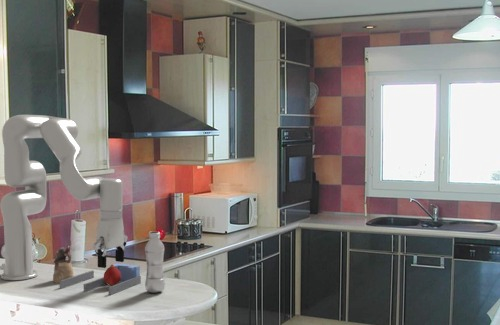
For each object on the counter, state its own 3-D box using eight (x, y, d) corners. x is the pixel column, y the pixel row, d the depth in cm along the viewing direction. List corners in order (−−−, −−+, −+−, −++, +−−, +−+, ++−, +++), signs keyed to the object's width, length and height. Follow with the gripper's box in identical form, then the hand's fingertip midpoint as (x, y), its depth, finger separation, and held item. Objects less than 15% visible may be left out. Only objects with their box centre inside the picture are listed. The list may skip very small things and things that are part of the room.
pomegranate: (100, 287, 209) (100, 264, 208) (115, 283, 213) (114, 261, 212) (110, 290, 205) (109, 267, 204) (124, 286, 209) (124, 264, 208)
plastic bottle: (141, 293, 200) (140, 233, 199) (152, 288, 206) (151, 230, 205) (158, 295, 198) (157, 234, 197) (168, 290, 204) (168, 231, 203)
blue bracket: (109, 282, 215) (109, 265, 215) (115, 280, 218) (115, 263, 218) (134, 285, 211) (133, 268, 211) (139, 282, 214) (139, 266, 214)
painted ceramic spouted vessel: (60, 277, 223) (59, 245, 222) (77, 278, 221) (76, 246, 220) (49, 282, 216) (48, 248, 215) (66, 283, 214) (65, 249, 213)
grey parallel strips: (59, 288, 207) (59, 281, 207) (92, 277, 223) (91, 270, 223) (110, 295, 199) (110, 287, 198) (140, 282, 214) (140, 275, 214)
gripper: (117, 210, 217) (117, 258, 218) (85, 217, 201) (85, 268, 202) (135, 212, 213) (134, 260, 215) (104, 219, 198) (103, 271, 199)
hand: (110, 264), depth 208 cm, fingers open, 9 cm apart
